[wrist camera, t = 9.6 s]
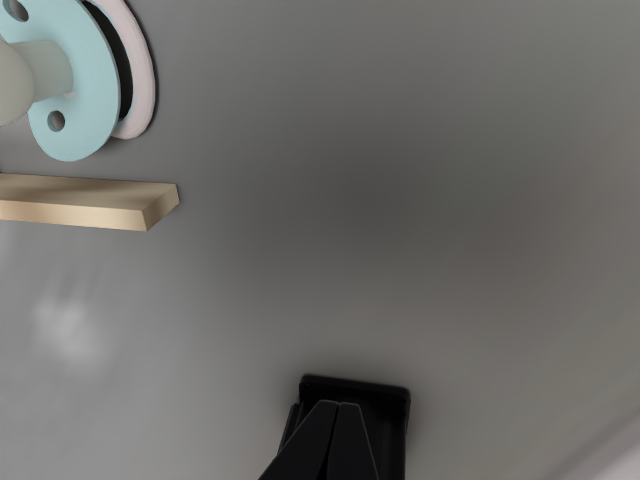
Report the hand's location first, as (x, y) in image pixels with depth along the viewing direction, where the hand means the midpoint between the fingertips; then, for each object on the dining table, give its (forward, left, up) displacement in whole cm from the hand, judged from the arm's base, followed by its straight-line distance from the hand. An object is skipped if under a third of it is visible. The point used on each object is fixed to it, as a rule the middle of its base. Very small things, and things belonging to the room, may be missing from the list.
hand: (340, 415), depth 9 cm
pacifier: (+13, -5, -12) cm, 18 cm away
